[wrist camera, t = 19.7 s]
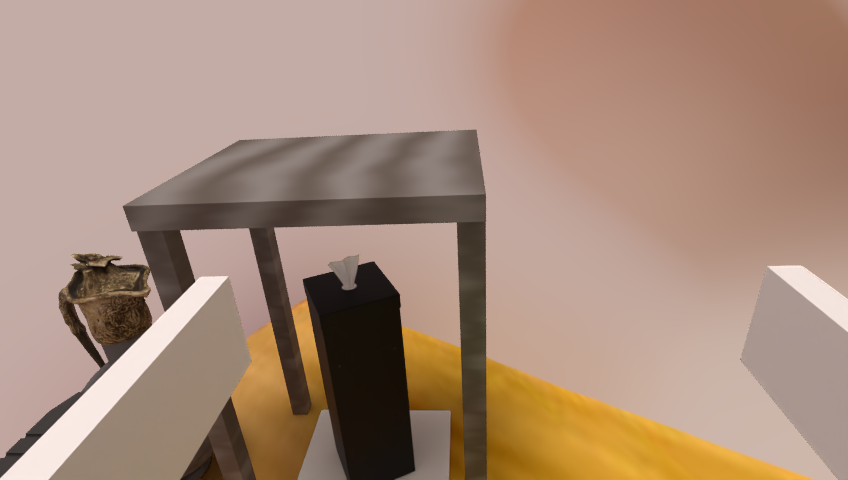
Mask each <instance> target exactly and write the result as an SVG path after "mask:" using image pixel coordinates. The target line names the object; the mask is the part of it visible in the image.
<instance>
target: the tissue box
mask: <svg viewBox="0 0 848 480" xmlns="http://www.w3.org/2000/svg"><path fill="white" fill-rule="evenodd" d="M358 262H359V255H357V256H349V257H346V258H345V259H343V260H342V261H339V262H331V263H329V264H328V266H329V267H330V268H331V269H332V270H333V272H329V273H325V274H322V275H317V276H313V277H309V278H306V279H303V284H304V288H305V293H306V296H307V301H308V306H309V311H310V316H311V321H312V326H313V332H314V337H315V342H316V347H317V352H318V357H319V363H320V368H321V373H322V378H323V383H324V388H325V394H326V399H327V404H328V409H329V414H330V419H331V424H332V430H333V435H334V440H335V445H336V449H337V452H338V455H339V458H340V461H341V464H342V467H343V470H344V473H345V476H346V478H347V480H395V479H397V478H399V477H402V476H404V475H406V474H409V473H411V472H413V471H415V461H414V451H413V441H412V430H411V420H410V409H409V399H408V389H407V378H406V368H405V358H404V347H403V337H402V327H401V316H400V307H401V304H400V294H399V293H398V291H397V290H396V289H395V288H394V286H393V285H392V284H391V283H390V281H389V280H388V279H387V278H386V276H385V275H384V274H383V272H382V271H381V270H380V269H379V268H378V266H377V265H376V264H375V262H369V263H365V264H361V265H358Z"/></svg>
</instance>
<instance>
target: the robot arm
mask: <svg viewBox="0 0 848 480" xmlns="http://www.w3.org/2000/svg"><path fill="white" fill-rule="evenodd" d="M740 360H741V361H742V363H743V364H744V365H745V366H746V367H747V369H748V370H749V371H750V372H751V374H752V375H753V376H754V377H755V378H756V380H757V381H758V382H759V383H760V385H761V386H762V387H763V388H764V390H765V391H766V392H767V393H768V394H769V396H770V397H771V398H772V399H773V400H774V402H775V403H776V404H777V405H778V407H779V408H780V409H781V410H782V412H783V413H784V414H785V415H786V416H787V418H788V419H789V420H790V421H791V423H792V424H793V425H794V426H795V428H796V429H797V430H798V431H799V432H800V434H801V435H802V436H803V437H804V438H805V440H806V441H807V442H808V443H809V445H810V446H811V447H812V448H813V450H814V451H815V452H816V453H817V454H818V456H819V457H820V458H821V459H822V460H823V462H824V463H825V464H826V465H827V467H828V468H829V469H830V470H831V472H832V473H833V474H834V475H835V476H836V478H837V479H838V480H848V299H847V298H846V297H844V296H843V295H841V294H840V293H838V292H837V291H836V290H834V289H833V288H832V287H830V286H829V285H828V284H826V283H825V282H824V281H822V280H821V279H819V278H818V277H817V276H815V275H814V274H813V273H811V272H810V271H809V270H807V269H806V268H804V267H803V266H767V268H766V271H765V275H764V278H763V282H762V285H761V289H760V292H759V296H758V299H757V303H756V306H755V310H754V313H753V317H752V320H751V324H750V327H749V331H748V334H747V338H746V341H745V345H744V349H743V352H742V356H741V359H740ZM251 361H252V360H251V357H250V353H249V349H248V346H247V342H246V338H245V335H244V331H243V327H242V323H241V320H240V316H239V312H238V309H237V305H236V302H235V298H234V294H233V290H232V287H231V283H230V279H229V276H216V277H200V278H199V279H198V280H197V281H196V282H195V283H194V284H193V285H192V286H191V287H190V288H189V289H188V290H187V291H186V292H185V293H184V294H183V295H182V296H181V297H180V298H179V299H178V300H177V301H176V302H175V303H174V304H173V305H172V306H171V307H170V308H169V309H168V310H167V311H166V312H165V313H164V314H163V315H162V316H161V317H160V318H159V319H158V320H157V321H156V322H155V323H154V324H153V325H152V326H151V327H150V328H149V329H148V330H147V331H146V332H145V333H144V334H143V335H142V336H141V337H140V338H139V339H138V340H137V341H136V342H135V343H134V344H133V345H132V346H131V347H130V348H129V349H128V350H127V351H126V352H125V353H124V354H123V355H122V356H121V357H120V358H119V359H118V360H117V361H116V362H115V363H114V364H113V365H112V366H111V367H110V368H109V369H108V370H107V371H106V372H105V373H104V374H103V375H102V376H101V377H100V378H99V379H98V380H97V381H96V382H95V383H94V384H93V385H92V386H91V387H90V388H89V389H88V390H87V391H86V392H78V393H77V394H75V395H74V396H72V397H71V398H69V399H67V400H66V401H64V402H63V403H61V404H60V405H58V406H57V407H55V408H54V409H52V410H51V411H49V412H48V413H47V414H46V415H45V416H44V417H43V418H42V419H41V420H40V421H39V422H38V423H37V424H36V425H35V426H33V427H32V428H31V429H30V431H28V433H26V437H25V438H23V439H22V438H21V439H20V440H19V441H18V442H17V443H16V444H15V445H14V446H13V447H12V448H11V449H10V450H9V451H8V452H7V453H6V456H5V458H1V459H0V480H180V479H181V477H182V476H183V474H184V472H185V471H186V469H187V468H188V466H189V464H190V463H191V461H192V459H193V458H194V456H195V454H196V453H197V451H198V449H199V448H200V446H201V444H202V443H203V441H204V439H205V438H206V436H207V434H208V433H209V431H210V429H211V428H212V426H213V424H214V423H215V421H216V419H217V418H218V416H219V414H220V413H221V411H222V409H223V408H224V406H225V404H226V403H227V401H228V399H229V398H230V396H231V394H232V393H233V391H234V390H235V388H236V386H237V385H238V383H239V381H240V380H241V378H242V376H243V375H244V373H245V371H246V370H247V368H248V366H249V365H250V363H251Z"/></svg>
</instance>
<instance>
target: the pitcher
mask: <svg viewBox="0 0 848 480" xmlns="http://www.w3.org/2000/svg"><path fill="white" fill-rule="evenodd" d="M71 256H72V257H73V258H75V259H76V260H77V261H79V262H80V263H79V264H71V265H72V266H74V269H76V270H78V271H77V272H75V273H74V275H73V277H72V279H71V281H70V282H69V284H68V285H67V287H65V288H63V289H62V290H61V291H60V293H59V309H60V311H61V313H62V315H63V318H64V320H65V323H66V324H67V325H68V326H69V328H70V330H71V332H72V333H73V334H74V335H75V336H76V337H77V339H78V340H79V341H80V342H81V344H82V345H83V347H84V348H85V349H86V350H87V352H88V353H89V354H90V356H91V357H92V358H93V359H94V360H95V361H96V363H97V364H98V365H99V367H100V368H101V369H100V370H99V371H98V372H97V373H96V374H95V375H94V376H93V377H92V378H91V379H90V381H89V382H88V383H87V385H86V386H85V388H84V389H83V390H82V392H86V391H87V390H88V389H89V388H90V387H91V386H92V385H93V384H94V383H95V382H96V381H97V380H98V379H99V378H100V377H101V376H102V375H103V374H104V373H105V372H106V371H107V370H108V369H109V368H110V367H111V366H112V365H113V364H114V363H115V362H116V361H117V360H118V359H119V358H120V357H121V356H122V355H123V354H124V353H125V352H126V351H127V350H128V349H129V348H130V347H131V346H132V345H133V344H134V343H135V342H136V341H137V340H138V339H139V338H140V337H141V336H142V335H143V334H144V333H145V332H146V331H147V330H148V329H149V328H150V327H151V326H152V323H151V322H152V316H151V313H150V311H149V308H148V306H147V304H146V302H145V299H144V297H147V296H148V295H149V293H150V287H149V286H148V285H147V279H148V276H149V273H150V269H149V267H148V266H145V265H138V264H133V265H120V266H116V265H114V264H112V263H111V261H112V260H120V259H121V258H122V257H119V256H106V257H103V256H101V255H100V254H85V255H83V254H72V255H71ZM86 264H87V265H88V266H87V265H86ZM74 304H78V305H79V307H80V309H81V311H82V313H83V315H84V316H85V318H86V320H87V322H88V326H89V329H90V331H91V334H92V336H93V337H94V339H95V340H96V341H97V342H98V343H100V344H101V345H102V347H103V349H104V351H105V354H106V356H107V358H108V361H109V362H108V363H106V364H105V363H104V361H103V359H102V358H101V356H100V354H99V352H98V351H97V350H96V348H95V346H94V345H93V343H92V341H91V339H90V338H89V336H88V334H87V332H86V328H85V326H84V325H83V324H82V323H81V322H80V320H79V318H78V315H77V313H76V310H75V307H74ZM213 452H214V451H213V448H212V445H211V442H210V439H209V436H208V434H207V436H206V438H205V439H204V441H203V443H202V444H201V446H200V448H199V449H198V451H197V453H196V454H195V456H194V458H193V459H192V461H191V463H190V464H189V466H188V468H187V469H186V471H185V472H184V474H183V476H182V477H181V479H180V480H198V479H199V478H201V477H202V476H203V474H204V473H205V472H206V470H207V469H208V468H209V466H210V462H211V458H212V454H213Z"/></svg>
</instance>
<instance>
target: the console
mask: <svg viewBox="0 0 848 480" xmlns="http://www.w3.org/2000/svg"><path fill="white" fill-rule="evenodd" d="M123 208H124V211H125V214H126V217H127V220H128V222H129V225H130V228H131V231H137V233H138V236H139V239H140V242H141V245H142V248H143V251H144V253H145V256H146V259H147V262H148V265H149V268H150V271H151V273H152V276H153V279H154V282H155V285H156V288H157V290H158V293H159V296H160V299H161V302H162V305H163V308H164V311H165V312H166V311H167V310H168V309H169V308H170V307H171V306H172V305H173V304H174V303H175V302H176V301H177V300H178V299H179V298H180V297H181V296H182V295H183V294H184V293H185V292H186V291H187V290H188V289H189V288H190V287H191V286H192V285H193V284H194V283H195V279H194V275H193V273H192V269H191V266H190V262H189V260H188V256H187V253H186V250H185V246H184V243H183V240H182V236H181V233H180V230H199V229H200V230H201V229H236V228H249V230H250V234H251V238H252V243H253V247H254V251H255V255H256V260H257V264H258V268H259V272H260V276H261V281H262V285H263V289H264V293H265V297H266V301H267V306H268V310H269V314H270V318H271V323H272V327H273V331H274V335H275V340H276V344H277V348H278V352H279V356H280V361H281V365H282V369H283V373H284V377H285V382H286V386H287V390H288V394H289V398H290V403H291V407H292V411H293V414H308V411H309V408H310V406H311V400H310V395H309V391H308V386H307V381H306V377H305V372H304V367H303V363H302V358H301V353H300V349H299V344H298V339H297V334H296V330H295V325H294V320H293V316H292V311H291V306H290V302H289V297H288V292H287V288H286V283H285V278H284V274H283V269H282V264H281V260H280V255H279V251H278V245H277V241H276V236H275V232H274V227H304V226H305V227H306V226H344V225H381V224H415V223H451V222H457V235H458V236H457V238H458V269H459V300H460V329H461V362H462V393H463V424H464V456H465V480H487V460H486V233H485V232H486V229H485V228H486V226H485V225H486V223H485V222H486V193H485V186H484V179H483V172H482V165H481V159H480V152H479V145H478V138H477V132H476V130H458V131H436V132H414V133H392V134H371V135H370V134H368V135H346V136H324V137H302V138H279V139H259V140H258V139H257V140H239V141H237V142H236V143H234V144H232V145H230V146H229V147H227V148H225V149H223V150H221V151H220V152H218V153H216V154H214V155H213V156H211V157H209V158H207V159H205V160H204V161H202V162H200V163H198V164H197V165H195V166H193V167H191V168H189V169H188V170H186V171H184V172H182V173H181V174H179V175H177V176H175V177H173V178H172V179H170V180H168V181H167V182H165V183H163V184H161V185H159V186H158V187H156V188H154V189H152V190H151V191H149V192H147V193H145V194H143V195H142V196H140V197H138V198H136V199H135V200H133V201H131V202H129V203H127V204H126V205H124V206H123ZM410 420H411V430H412V441H413V451H414V461H415V471H413V472H411V473H409V474H406V475H404V476H402V477H399V478H397V479H395V480H449V467H450V422H451V410H410ZM208 436H209V439H210V442H211V445H212V448H213V451H214V454H215V456H216V459H217V462H218V465H219V468H220V471H221V474H222V476H223V479H224V480H256V477H255V474H254V471H253V468H252V464H251V461H250V458H249V455H248V451H247V448H246V445H245V442H244V438H243V435H242V432H241V429H240V425H239V422H238V419H237V416H236V412H235V409H234V406H233V403H232V399H231V396H230V398H229V399H228V401H227V403H226V404H225V406H224V408H223V409H222V411H221V413H220V414H219V416H218V418H217V419H216V421H215V423H214V424H213V426H212V428H211V429H210V431H209V433H208ZM297 480H347V478H346V476H345V473H344V470H343V467H342V464H341V461H340V458H339V455H338V452H337V449H336V445H335V440H334V435H333V430H332V424H331V419H330V414H329V410H321V413H320V416H319V419H318V422H317V425H316V427H315V430H314V433H313V436H312V439H311V442H310V445H309V447H308V450H307V453H306V456H305V459H304V462H303V465H302V467H301V470H300V473H299V476H298V479H297Z"/></svg>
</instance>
